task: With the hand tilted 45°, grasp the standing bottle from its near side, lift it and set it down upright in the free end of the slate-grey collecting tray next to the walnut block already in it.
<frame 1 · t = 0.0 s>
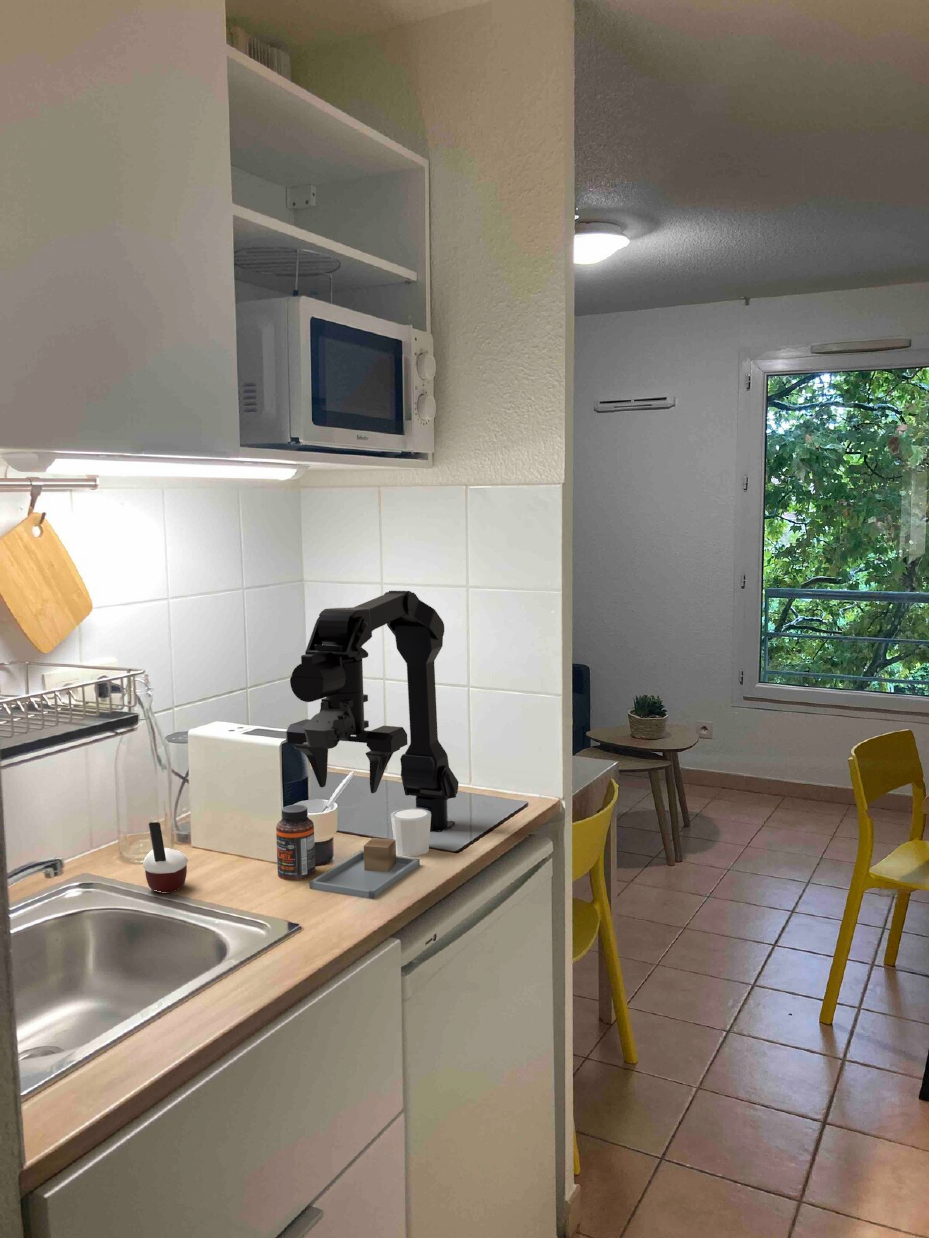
hand: (347, 789, 154), 15 cm above the worktop, tool pointing down, fingers open, 9 cm apart
tray: (366, 879, 156), on the worktop
supplement bottle: (296, 878, 158), on the worktop
walnut block: (380, 866, 160), point 1 cm above the worktop, touching tray
cocoa: (166, 890, 154), on the worktop
white cup: (411, 854, 167), on the worktop
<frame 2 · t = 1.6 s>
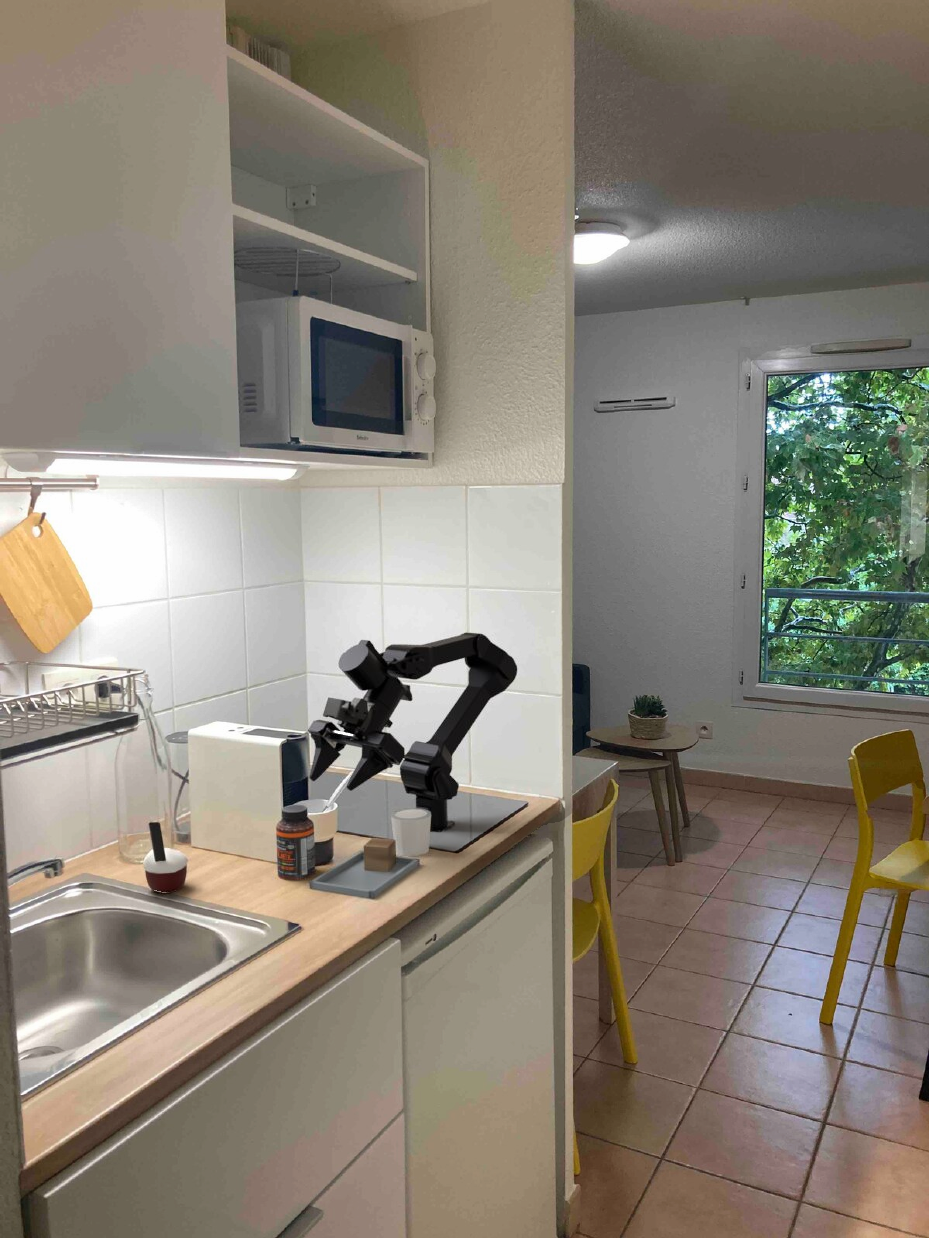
hand: (329, 784, 162), 13 cm above the worktop, tool tilted 45°, fingers open, 9 cm apart
nothing on the worktop moved.
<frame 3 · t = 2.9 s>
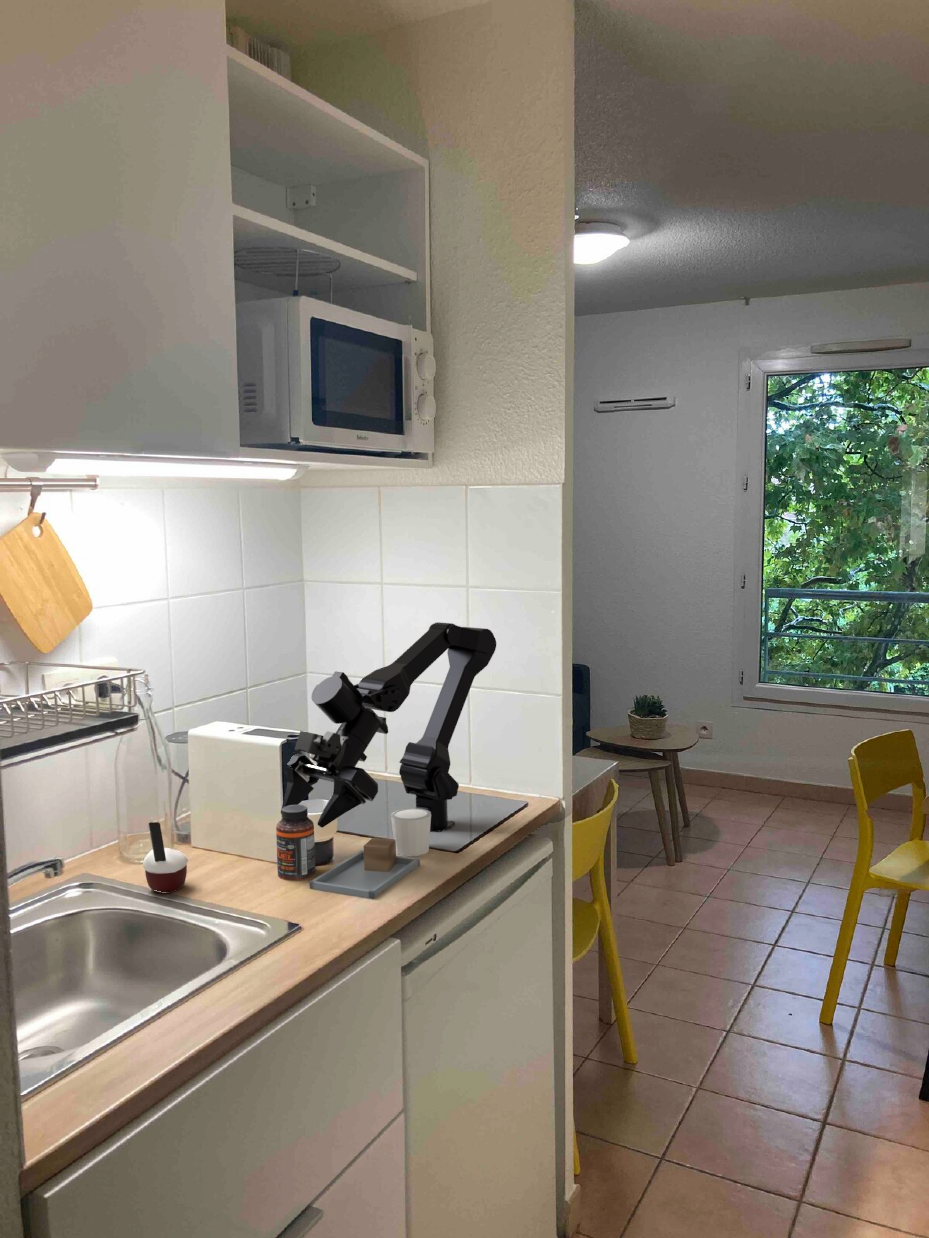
hand: (300, 820, 158), 9 cm above the worktop, tool tilted 45°, fingers open, 9 cm apart
nothing on the worktop moved.
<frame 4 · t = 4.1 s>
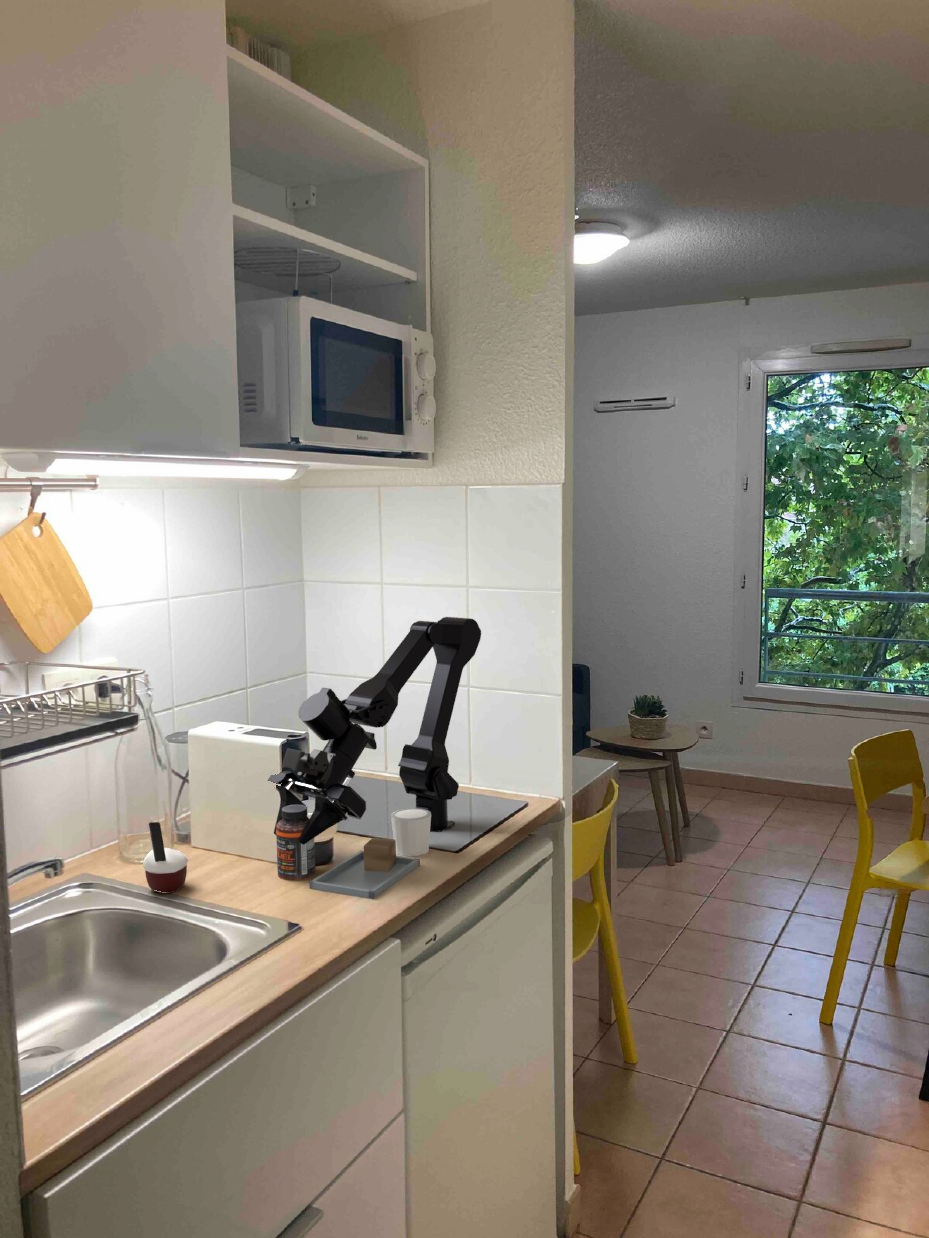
hand: (288, 838, 156), 7 cm above the worktop, tool tilted 45°, fingers closed on supplement bottle, 6 cm apart
supplement bottle: (296, 878, 158), on the worktop, touching gripper
everything else where it was.
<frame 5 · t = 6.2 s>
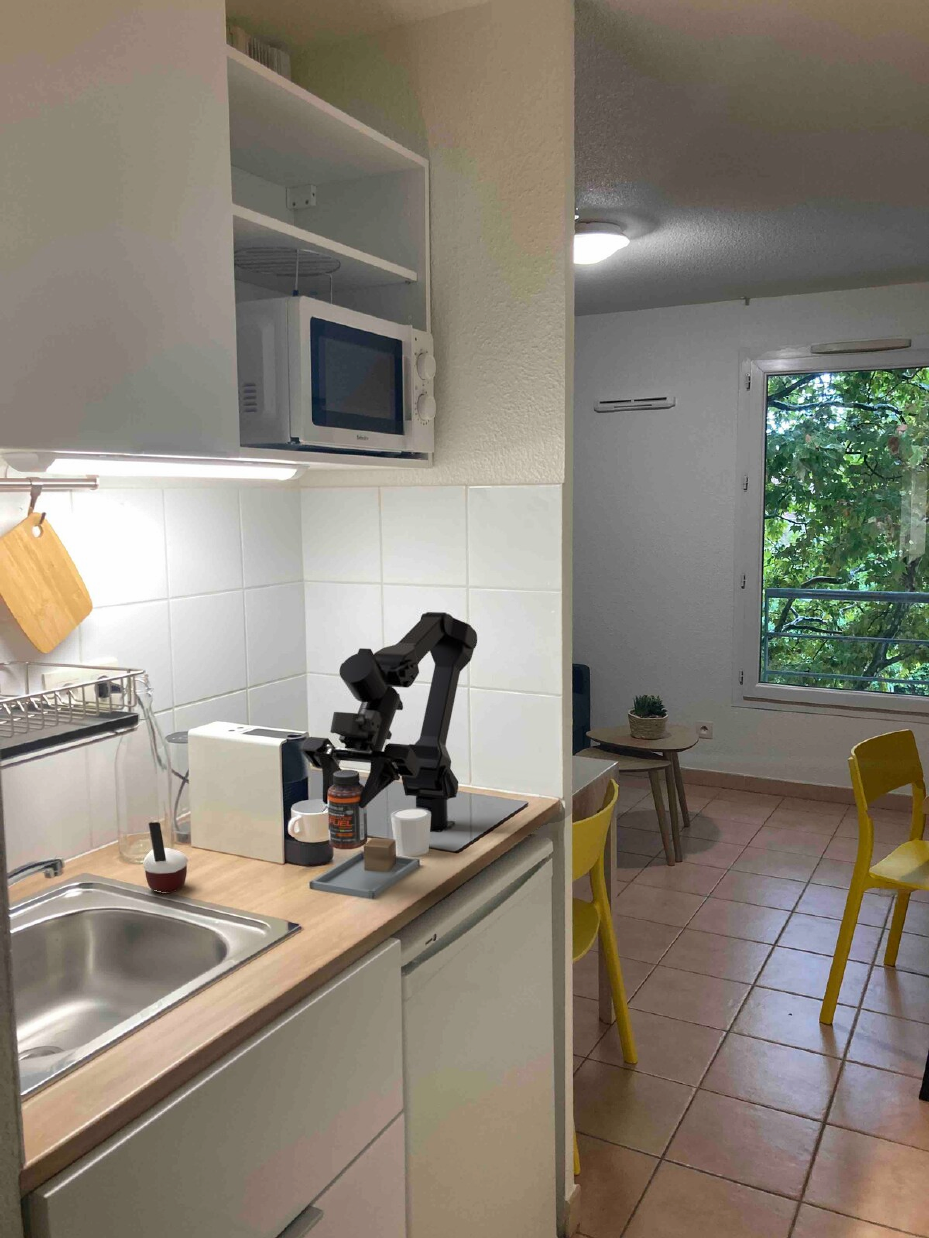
hand: (342, 804, 151), 13 cm above the worktop, tool tilted 45°, fingers closed on supplement bottle, 6 cm apart
supplement bottle: (348, 845, 153), point 6 cm above the worktop, touching gripper
everything else where it was.
when the fingers open (8 cm above the worktop, at t = 8.0 s): supplement bottle stays where it is, resting on tray.
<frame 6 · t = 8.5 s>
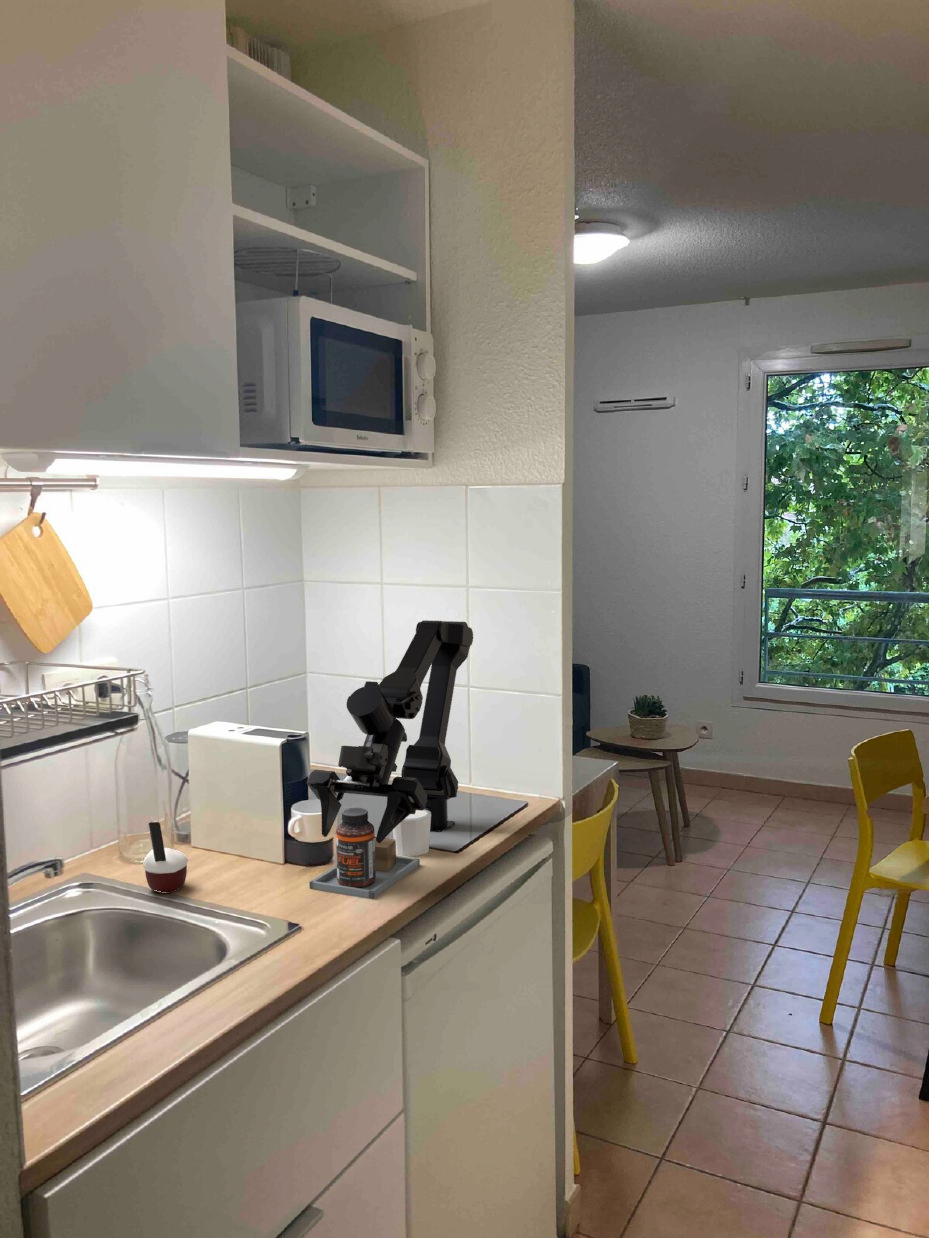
hand: (350, 838, 151), 8 cm above the worktop, tool tilted 45°, fingers open, 9 cm apart
supplement bottle: (356, 883, 153), resting on tray
everything else where it was.
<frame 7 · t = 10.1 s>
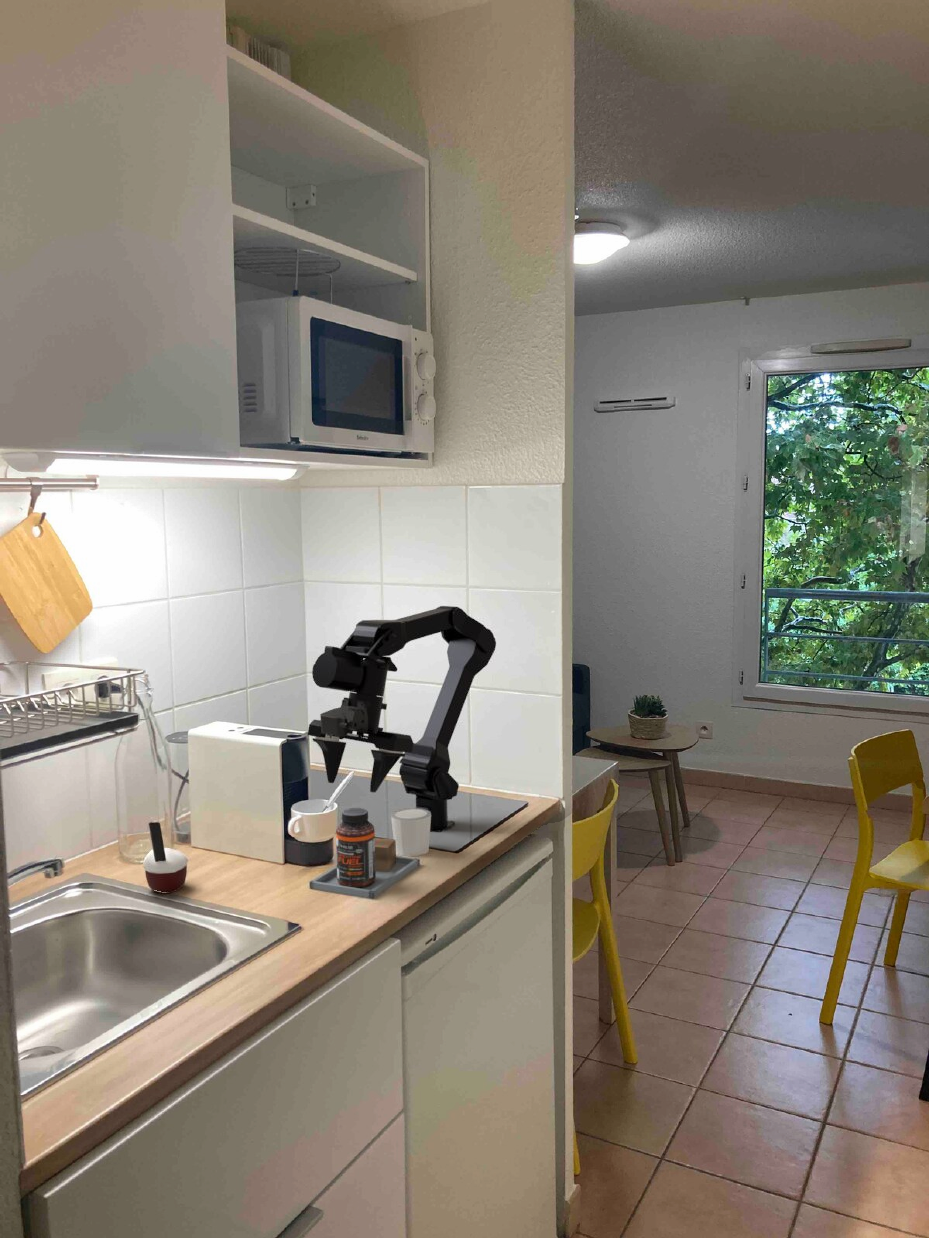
hand: (351, 787, 165), 12 cm above the worktop, tool tilted 15°, fingers open, 9 cm apart
nothing on the worktop moved.
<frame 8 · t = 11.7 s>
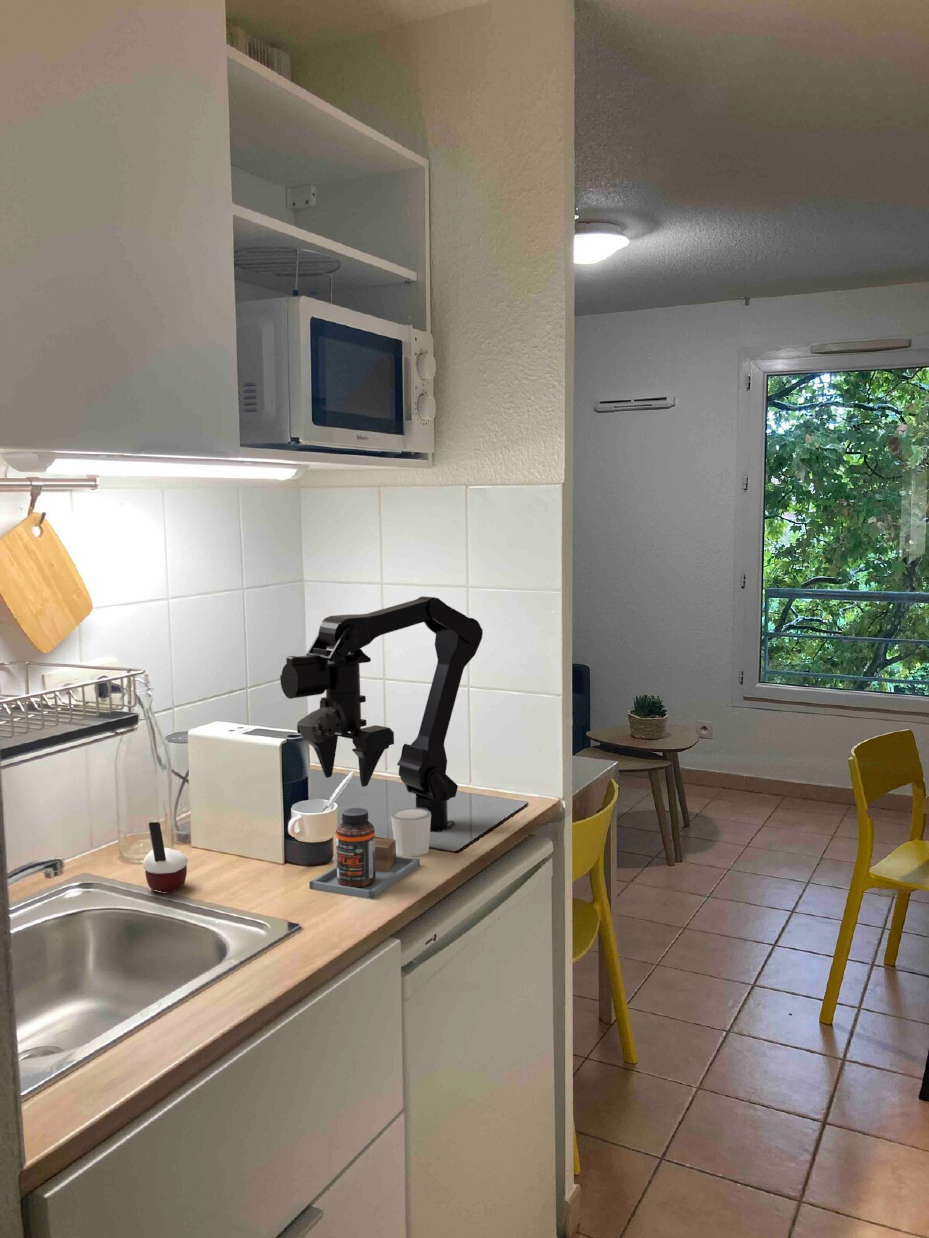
hand: (346, 781, 169), 12 cm above the worktop, tool pointing down, fingers open, 9 cm apart
nothing on the worktop moved.
at the end: supplement bottle inside the target area on the tray (2.6 cm from its centre), point 0.4 cm above the tray's base; supplement bottle tilted 0°; the gripper is holding nothing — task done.
